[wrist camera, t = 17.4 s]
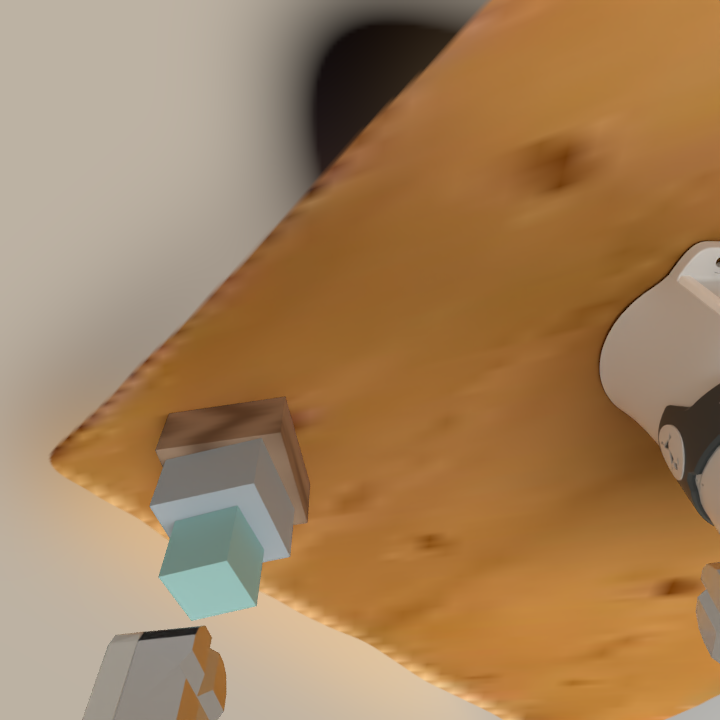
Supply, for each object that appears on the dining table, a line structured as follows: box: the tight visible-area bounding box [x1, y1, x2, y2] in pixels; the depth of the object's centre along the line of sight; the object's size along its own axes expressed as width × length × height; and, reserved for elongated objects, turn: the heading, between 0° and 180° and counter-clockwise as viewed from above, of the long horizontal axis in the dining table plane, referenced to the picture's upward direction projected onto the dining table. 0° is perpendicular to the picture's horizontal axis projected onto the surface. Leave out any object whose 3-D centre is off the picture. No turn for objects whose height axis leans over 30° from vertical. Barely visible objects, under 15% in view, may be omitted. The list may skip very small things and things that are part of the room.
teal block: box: [159, 505, 264, 621], centre depth 47 cm, size 5×5×5 cm
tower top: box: [150, 438, 294, 562], centre depth 51 cm, size 8×8×5 cm
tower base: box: [155, 397, 310, 525], centre depth 55 cm, size 10×10×5 cm
